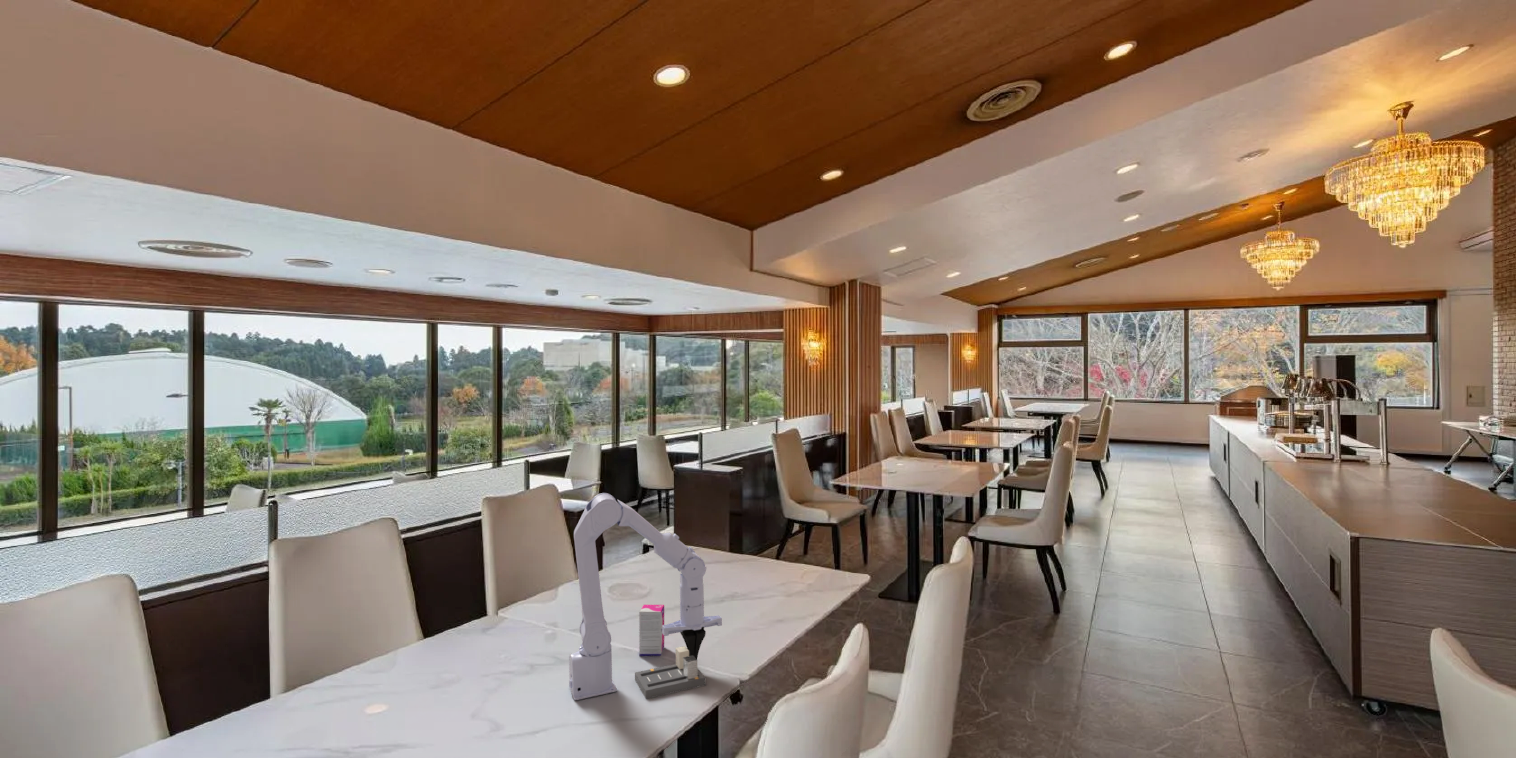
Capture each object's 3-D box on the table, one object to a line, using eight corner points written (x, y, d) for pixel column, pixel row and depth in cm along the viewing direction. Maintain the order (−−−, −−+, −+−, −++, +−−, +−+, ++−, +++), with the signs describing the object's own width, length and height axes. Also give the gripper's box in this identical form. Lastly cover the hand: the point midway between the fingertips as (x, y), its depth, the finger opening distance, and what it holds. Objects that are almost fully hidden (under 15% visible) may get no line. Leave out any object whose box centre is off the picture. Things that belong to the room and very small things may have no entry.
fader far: (679, 671, 154) (679, 652, 154) (675, 667, 157) (675, 647, 157) (689, 669, 155) (688, 650, 155) (685, 665, 158) (685, 646, 158)
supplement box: (661, 656, 166) (660, 611, 167) (638, 656, 167) (637, 611, 167) (665, 647, 172) (664, 603, 172) (643, 647, 172) (642, 604, 172)
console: (645, 698, 144) (645, 690, 144) (635, 680, 153) (634, 672, 153) (705, 685, 150) (705, 676, 150) (691, 668, 159) (691, 660, 159)
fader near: (687, 682, 149) (687, 662, 149) (683, 677, 152) (683, 657, 152) (697, 680, 150) (697, 660, 150) (693, 674, 153) (693, 655, 153)
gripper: (667, 613, 151) (668, 672, 151) (726, 603, 157) (727, 659, 157) (659, 604, 157) (660, 660, 157) (715, 594, 163) (716, 649, 163)
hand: (693, 659), depth 157 cm, fingers closed
